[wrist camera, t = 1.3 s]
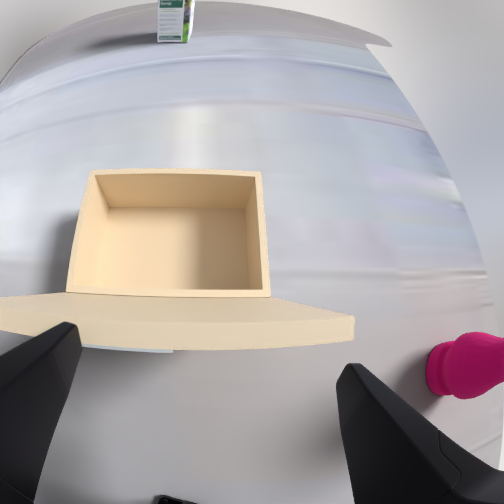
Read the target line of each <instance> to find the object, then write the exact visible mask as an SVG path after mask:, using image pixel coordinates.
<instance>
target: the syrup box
mask: <svg viewBox="0 0 504 504" xmlns="http://www.w3.org/2000/svg"><path fill="white" fill-rule="evenodd" d="M194 4H195V0H158V31H157V42H158V43H161V42H185V43H187V42H188V39H189V37H190V35H191V33H192V26H193V15H194Z"/></svg>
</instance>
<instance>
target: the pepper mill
mask: <svg viewBox="0 0 504 504" xmlns="http://www.w3.org/2000/svg"><path fill="white" fill-rule="evenodd" d="M426 379H427V383H428V386H429V388H430V389H431V391H432V392H433V393H435V394H436V395H452V394H453V395H454V396H455V397H457V398H459V399H470V398H475V397H477V396H480V395H482V394H484V393H485V392H487V391H488V390H490V389H491V388H493V387H494V386H496V385H497V384H499V383H502V382H504V338H500V337H496V336H493V335H490V334H487V333H482V332H470V333H465V334H463V335H461V336H460V337H458V338H457V339H456V340H455V341H450V342H445V343H441V344H439V345H437V346H436V347H435V348H434V349H433V351H432V352H431V354H430V356H429V358H428V362H427V366H426Z"/></svg>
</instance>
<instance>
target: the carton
mask: <svg viewBox="0 0 504 504" xmlns="http://www.w3.org/2000/svg"><path fill="white" fill-rule="evenodd" d="M66 292H67V293H79V294H96V295H114V296H137V297H170V298H270V297H271V292H270V278H269V265H268V251H267V238H266V226H265V213H264V201H263V189H262V178H261V172H252V171H236V170H215V169H179V168H143V169H107V170H91V171H90V175H89V178H88V182H87V185H86V189H85V192H84V196H83V200H82V204H81V208H80V212H79V216H78V221H77V225H76V230H75V235H74V240H73V245H72V251H71V257H70V263H69V270H68V277H67V285H66Z"/></svg>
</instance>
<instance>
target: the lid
mask: <svg viewBox="0 0 504 504" xmlns="http://www.w3.org/2000/svg"><path fill="white" fill-rule="evenodd" d="M354 320H355V316H352V315H347V314H343V313H338V312H334V311H329V310H325V309H320V308H316V307H311V306H307V305H303V304H298V303H294V302H290V301H286V300H282V299H277V298H170V297H137V296H114V295H96V294H79V293H65V292H62V293H50V294H38V295H26V296H12V297H0V330H3V331H8V332H12V333H18V334H23V335H28V336H34V337H35V336H37V335H39V334H41V333H43V332H45V331H47V330H48V329H50V328H52V327H54V326H56V325H58V324H60V323H62V322H64V321H67V322H70V323H74V324H76V325H77V327H78V330H79V334H80V339H81V343H82V347H90V348H100V349H111V350H123V351H138V352H157V353H173V352H174V350H239V349H263V348H280V347H293V346H305V345H316V344H325V343H334V342H343V341H351V340H354Z"/></svg>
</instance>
